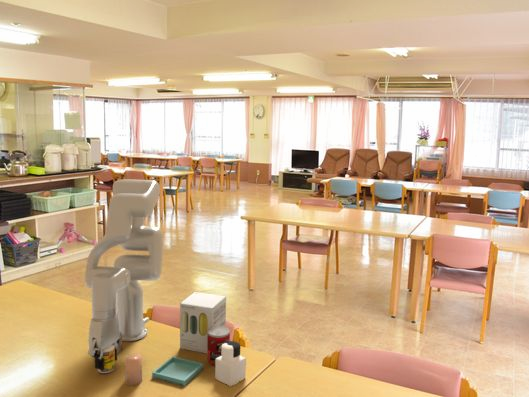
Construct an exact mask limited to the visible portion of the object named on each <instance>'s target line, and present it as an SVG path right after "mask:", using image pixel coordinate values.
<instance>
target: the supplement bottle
mask: <svg viewBox="0 0 529 397" xmlns="http://www.w3.org/2000/svg"><path fill="white" fill-rule="evenodd" d="M99 352H100V351H98V352H97V353H98V354H99ZM102 358H104V369H103V370H99V369H96V370H97V372H98V373H101V374H109V373H112V372H113V371H114V370H115V368H116V361H115V346H114V345H113V344H111V345H110V346H108V347H107V348H105V349H104V351H103V356H102Z"/></svg>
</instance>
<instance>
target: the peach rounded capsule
mask: <svg viewBox="0 0 529 397" xmlns="http://www.w3.org/2000/svg"><path fill="white" fill-rule="evenodd" d="M142 382H143V355H142V354H139V353H130V354H128V355H126V356H125V384H126V385H128V386H139V385H140V384H141V383H142Z"/></svg>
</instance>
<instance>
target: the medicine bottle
mask: <svg viewBox="0 0 529 397" xmlns="http://www.w3.org/2000/svg"><path fill="white" fill-rule="evenodd" d="M246 363H247V358H246V357H245V356H242V355H241V344H240V343H239V342H238V341H233V340H230V341H228V342H225V343H223V344H222V351H221V356H220V357H218V358H216V360H215V371H214V372H215V373H214V375H215V376H214V379H215V380H217V381H219V382H221V383H223V384H225V385H226V384H227V386H228V385H229V387H233V386H234V385H236V384H238V383H240V382H241V381H243V380H244V378H245V379H246V371H247V369H246V368H247V367H246V366H247V364H246ZM239 381H240V382H239ZM237 382H238V383H237ZM232 385H233V386H232Z"/></svg>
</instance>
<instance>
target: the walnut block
mask: <svg viewBox="0 0 529 397" xmlns="http://www.w3.org/2000/svg"><path fill="white" fill-rule="evenodd" d="M122 350H123V341H122V336H121V338H120V340H119V343H118V348H117V355H119V354H120V352H121V351H122Z"/></svg>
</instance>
